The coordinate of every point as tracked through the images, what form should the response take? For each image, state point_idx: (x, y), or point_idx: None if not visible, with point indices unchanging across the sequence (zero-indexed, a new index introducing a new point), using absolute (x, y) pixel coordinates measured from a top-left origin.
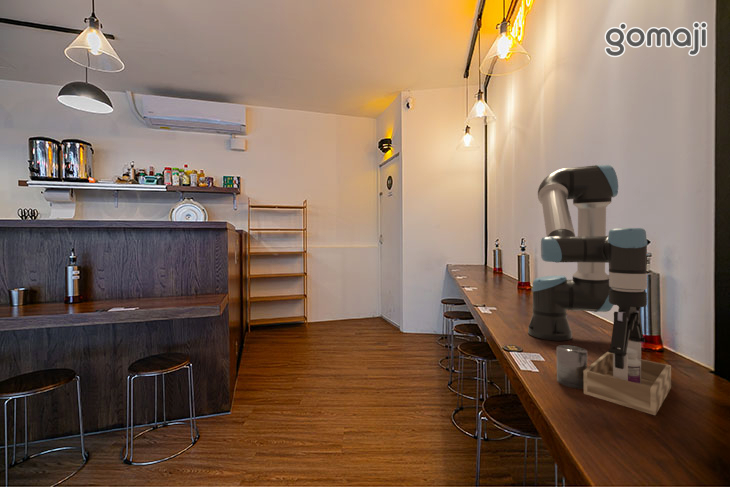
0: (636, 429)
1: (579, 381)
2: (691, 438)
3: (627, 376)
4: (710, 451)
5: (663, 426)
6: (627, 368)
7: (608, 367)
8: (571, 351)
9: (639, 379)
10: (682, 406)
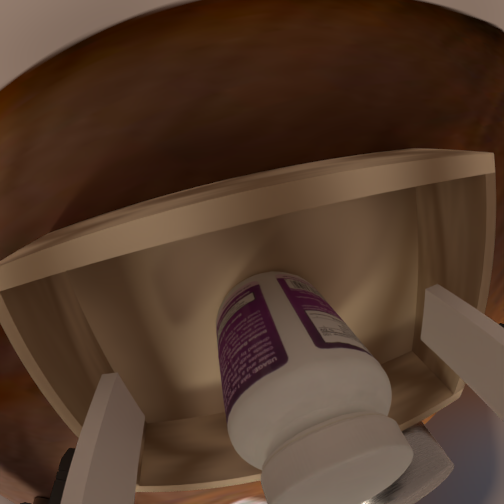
0: (499, 162)
1: None
2: (449, 54)
3: (452, 300)
4: (461, 27)
5: (452, 115)
6: (482, 322)
7: (160, 435)
8: (432, 482)
9: (296, 297)
10: (227, 107)
